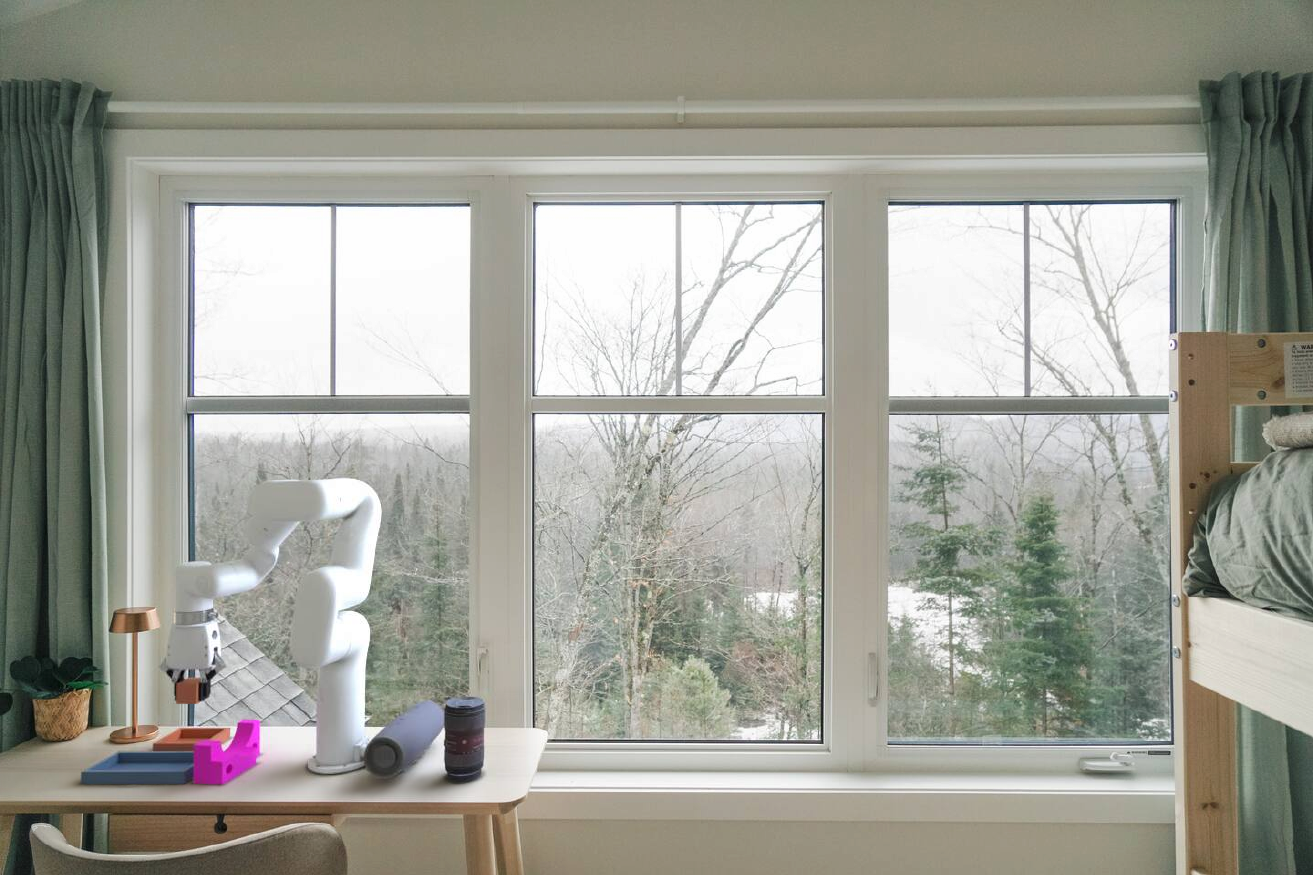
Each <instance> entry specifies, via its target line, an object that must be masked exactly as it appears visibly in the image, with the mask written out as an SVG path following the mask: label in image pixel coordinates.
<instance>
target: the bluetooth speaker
mask: <svg viewBox="0 0 1313 875" xmlns="http://www.w3.org/2000/svg"><path fill="white" fill-rule="evenodd" d="M443 729H444V710H443V708H442V706H441V705H439V703H437V702H436V701H434V700H423V701H420V702H418V703H416V704H413V705H412V706H411V707H409V708H408V709H406V710H404V712H402V713H400V714H399V715H398V716H397V717H396V718H394V719H393V720H392V721H391V722H389V723H388V724H387V725H385V727H383V728H382V729H381V730H380V731H379V732H378V733H377V734H376V735H375V736H374V737H373V738H372V739H371V740H369V742H370V743H369V744H368V745H367V747H366V749H365V752H364V764H365V765H364V766H365V769H366V770H367V771H368V773H369V774H371V775H372V776H373V777H375V778H379V779H390V778H393V777H394V776H396V775H398V774H399V773H403V772H405V771H407V770H408V769H409V768H410V767H412V765H414V764H415V762H416V761H417V760H419V758H420V757H421V756H422V755H423V754H424V753H425V752H426V750H428V749H429V747H430V746H431V745H432V743H433V742H434V741H435V740H436V739H437V738H438V736H439V735H440V734H441V733H442V731H443Z"/></svg>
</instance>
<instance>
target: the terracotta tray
mask: <svg viewBox="0 0 1313 875" xmlns="http://www.w3.org/2000/svg"><path fill="white" fill-rule="evenodd" d="M230 739H231V727H179V728H177V729H175V730H174V731H171V733H169V734H167V735H165V736H164V737H163V736H162V738H160V739H158V740H156V741H155V742H153V743H152V751H194V745H195V744H197V743H199V742H201V741H203V740H213V741H221V745H222V744H224V743H225V742H226V741H228V740H230Z"/></svg>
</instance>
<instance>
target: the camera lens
mask: <svg viewBox="0 0 1313 875" xmlns="http://www.w3.org/2000/svg"><path fill="white" fill-rule="evenodd" d="M443 712H444V727H443V729H444V739H443V747H444V753H443V754H444V755H443V762H444V770H445V771H446V775H447V776H446V777H447V780H448V781H450V782H453V783H462V784H463V783H468V782H472V781H475V780H478V779H479V778H480V777H481V776H482V769H483V767H484V762H485V761H484V760H485V726H486V705H485V700H484V699H483V698H482V697H476V696H459V697H453V698H450V699H448V700H447V701H446V702H445V707H444V710H443Z"/></svg>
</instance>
